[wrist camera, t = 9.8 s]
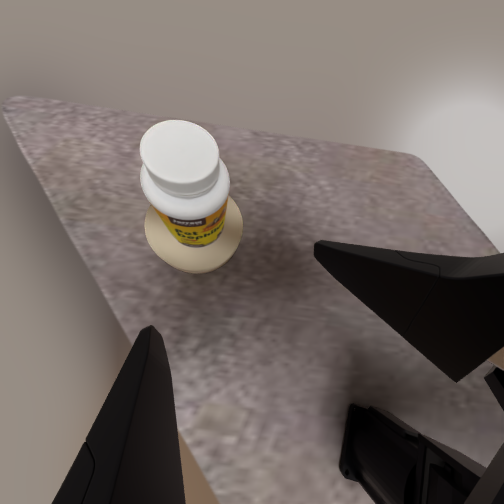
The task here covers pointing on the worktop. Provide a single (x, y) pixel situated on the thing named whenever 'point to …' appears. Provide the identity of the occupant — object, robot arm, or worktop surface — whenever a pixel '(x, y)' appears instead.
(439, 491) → the robot arm
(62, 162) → the worktop surface
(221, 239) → the birch plinth
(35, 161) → the worktop surface
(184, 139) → the supplement bottle
